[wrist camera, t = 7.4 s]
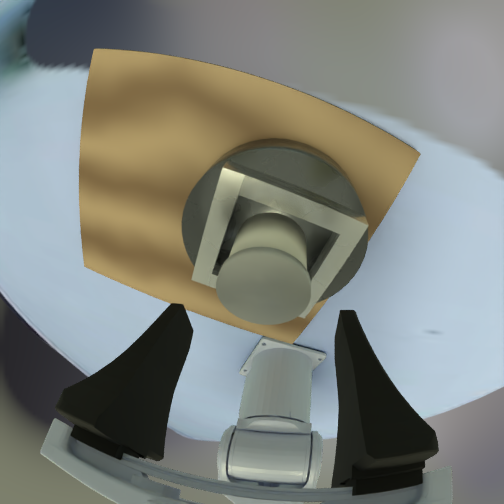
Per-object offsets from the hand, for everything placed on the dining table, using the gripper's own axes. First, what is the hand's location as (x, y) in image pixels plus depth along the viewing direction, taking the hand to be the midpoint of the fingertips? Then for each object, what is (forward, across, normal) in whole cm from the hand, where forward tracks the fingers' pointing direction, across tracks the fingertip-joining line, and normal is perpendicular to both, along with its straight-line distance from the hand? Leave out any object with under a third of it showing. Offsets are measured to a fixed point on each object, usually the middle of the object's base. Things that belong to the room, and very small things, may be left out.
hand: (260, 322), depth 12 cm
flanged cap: (+6, 0, 0) cm, 6 cm away
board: (+10, +5, 0) cm, 12 cm away
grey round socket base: (+9, 0, 0) cm, 9 cm away
